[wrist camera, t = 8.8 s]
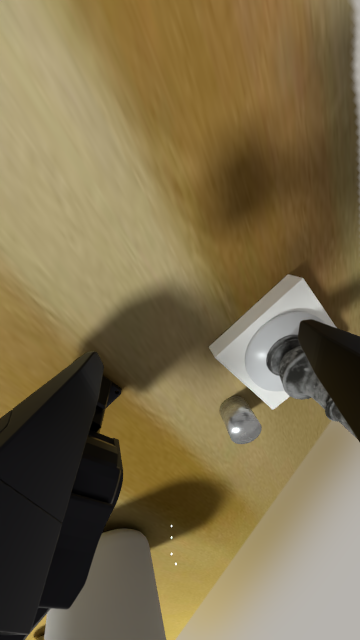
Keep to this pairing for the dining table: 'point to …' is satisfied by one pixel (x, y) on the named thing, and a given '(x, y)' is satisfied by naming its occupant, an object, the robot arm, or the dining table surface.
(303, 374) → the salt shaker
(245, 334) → the scale
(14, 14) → the dining table surface
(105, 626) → the jar
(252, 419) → the spacer
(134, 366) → the dining table surface
